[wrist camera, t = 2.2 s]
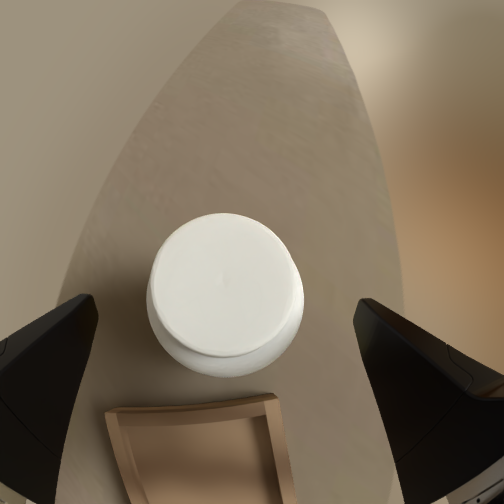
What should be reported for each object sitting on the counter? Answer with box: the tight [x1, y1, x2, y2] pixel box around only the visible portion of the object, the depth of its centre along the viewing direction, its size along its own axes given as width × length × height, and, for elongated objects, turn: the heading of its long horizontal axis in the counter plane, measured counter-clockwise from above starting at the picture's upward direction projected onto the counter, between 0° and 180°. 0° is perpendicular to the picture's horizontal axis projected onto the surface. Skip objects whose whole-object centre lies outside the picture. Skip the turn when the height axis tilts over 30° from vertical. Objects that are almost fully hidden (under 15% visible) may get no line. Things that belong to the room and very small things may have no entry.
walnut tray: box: [104, 393, 297, 504], centre depth 12 cm, size 10×10×2 cm
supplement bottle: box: [146, 213, 304, 378], centre depth 12 cm, size 6×6×10 cm
